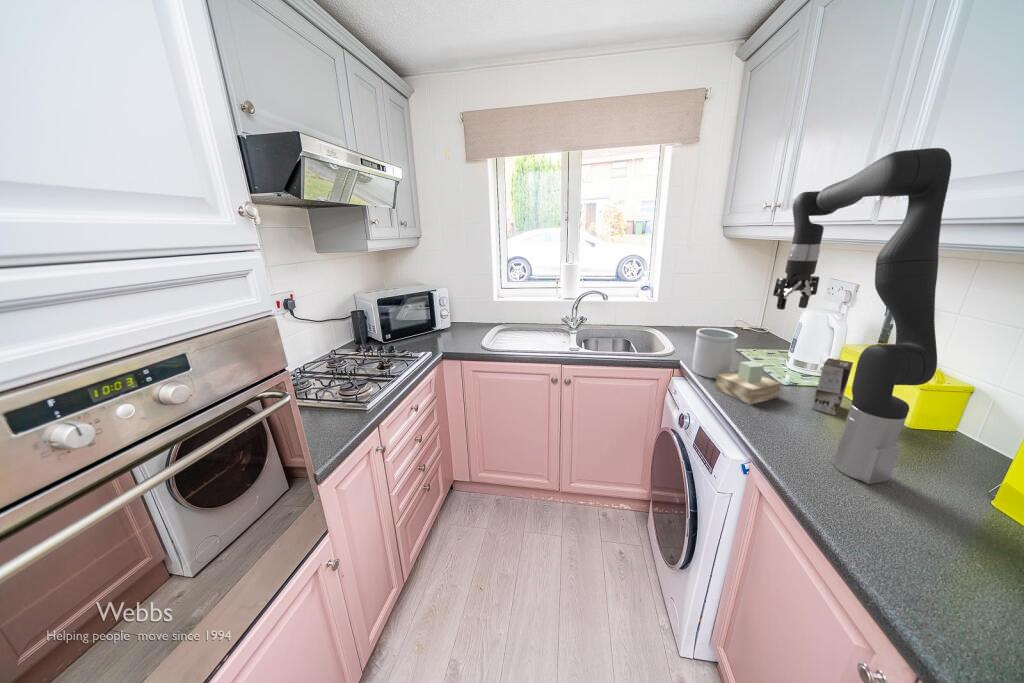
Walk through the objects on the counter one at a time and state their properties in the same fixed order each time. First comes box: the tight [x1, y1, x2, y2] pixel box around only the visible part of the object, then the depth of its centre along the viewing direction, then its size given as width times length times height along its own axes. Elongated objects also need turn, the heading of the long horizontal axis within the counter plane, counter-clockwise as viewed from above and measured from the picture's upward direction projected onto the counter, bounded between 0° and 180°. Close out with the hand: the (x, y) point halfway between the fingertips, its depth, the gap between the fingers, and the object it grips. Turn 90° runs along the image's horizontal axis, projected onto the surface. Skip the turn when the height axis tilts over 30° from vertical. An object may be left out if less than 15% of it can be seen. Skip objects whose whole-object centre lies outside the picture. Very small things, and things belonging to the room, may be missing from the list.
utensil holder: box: [691, 327, 739, 379], centre depth 145 cm, size 15×15×18 cm
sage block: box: [738, 360, 764, 383], centre depth 126 cm, size 5×5×6 cm
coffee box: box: [811, 357, 854, 416], centre depth 115 cm, size 9×6×16 cm
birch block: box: [714, 369, 782, 405], centre depth 129 cm, size 14×14×6 cm
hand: (791, 308), depth 117 cm, fingers open, 8 cm apart
